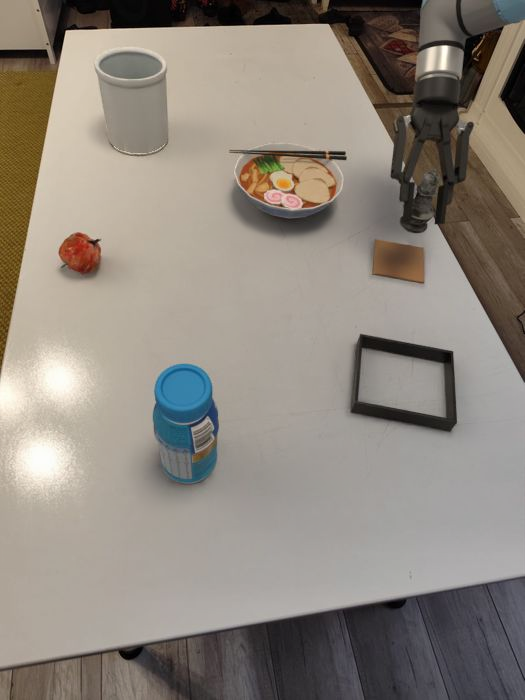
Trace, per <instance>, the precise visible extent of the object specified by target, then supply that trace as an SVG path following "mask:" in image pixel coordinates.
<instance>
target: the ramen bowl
mask: <svg viewBox="0 0 525 700" xmlns="http://www.w3.org/2000/svg"><path fill="white" fill-rule="evenodd" d="M228 153H232V154H242V155H240V156H239V157H238V158H237V161H236V163H235V166H234V168H233V173H234V176H235V179H236V183H237V185H238V187H239V190H240V191H241V192H242V194H243V196H245V198H247V200H248V201H250V202H251V203H252V205H253V206H254V207H256V209H258V210H260V211H261V212H264V213H266V214H268V215H270V216H273V217H278V218H283V219H289V220H290V219H301V218H307V217H308V216H311V215H314V214H316V213H318V212H321V211H322V210H324V209H325V208H327V207H329V205H330V204H331V203H332V202H333V201H334V199H336V197H337V196H338V195H339V194H340V193H341V192H342V191H343V187H344V186H343V185H344V180H345V177H344V175H343V173H342V170H341V168H340V167H339V165H338V163H337V162H336V161H347V159H348V158H347V152H346V151H345V150H344V151H343V150H334V151H333V150H328V151H327V150H318V149H315V148H313V147H310V146H308V145H304V144H299V143H292V142H289V141H288V142H269V143H264V144H261V145H258V146H254V147H251V148H249V149H243V150H242V149H229V152H228ZM334 160H335V161H334Z"/></svg>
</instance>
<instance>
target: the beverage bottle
mask: <svg viewBox="0 0 525 700" xmlns="http://www.w3.org/2000/svg"><path fill="white" fill-rule="evenodd" d="M154 384H155V385H154V389H153V392H154V401H155V404H154V407H153V410H152V423H153V434H154V437H155V439H156V441H157V444H158V449H159V454H160V455H159V456H160V463H161V464H160V465H161V468H162V469H163V472H164V473H165V474H166V475H167V476H168V477H169V478H170V479H171V480H173V481H175V482H177V483H181V484H195V483H198V482H200V481H203V480H204V479H206V478H207V477H208V476H209V475H211V473H212V472H213V471H214V469H215V467H216V464H217V461H218V434H219V430H220V421H219V409H218V406H217V403H216V400H215V399H214V397H213V383H212V380H211V378H210V376H209V375H208V373H207V372H206V371H205V370H204V369H203V368H202V367H199V366H198V365H195V364H191V363H176V364H174V365H171V366H169V367H167V368H165V369H164V370H162V372H161V373H160V374H159V375H158V376H157V379H156V380H155V383H154Z"/></svg>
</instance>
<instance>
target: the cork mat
mask: <svg viewBox="0 0 525 700" xmlns="http://www.w3.org/2000/svg"><path fill="white" fill-rule="evenodd" d="M373 248H374V249H373V263H372V264H373V266H372V275H375V276H380V277H385V278H389V279H396V280H402V281H407V282H412V283H417V284H424V283H425V264H424V263H425V261H424V255H425V254H424V253H425V252H424V247H421V246H417V245H411V244H405V243H400V242H394V241H388V240H383V239H378V238H376V239H374V247H373Z"/></svg>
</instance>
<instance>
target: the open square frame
mask: <svg viewBox="0 0 525 700" xmlns="http://www.w3.org/2000/svg"><path fill="white" fill-rule="evenodd" d="M363 349H369V350H374V351H380V352H386V353H390V354H396V355H399V356H400V355H401V356H406V357H411V358H417V359H421V360H427V361H432V362H439V363H443V364H444V365H443V366H444V367H443V368H444V386H445V390H444V391H445V407H446V408H445V411H446V413H445V414H446V417H443V416H438V415H432V414H428V413H423V412H418V411H414V410H413V411H412V410H407V409H403V408H397V407H393V406H392V407H391V406H387V405H383V404H382V405H381V404H377V403H376V404H375V403H371V402H366V401H360V400H359V396H360V395H359V392H360V381H361V369H362V367H361V366H362V355H363V354H362V353H363ZM454 359H455V357H454V351H453V350H448V349H444V348H440V347H439V348H438V347H433V346H428V345H422V344H417V343H413V342H406V341H401V340H395V339H391V338H385V337H380V336H374V335H368V334H365V333H364V334H363V333H360V334H359V336H358V338H357V341H356V345H355V356H354V367H353V380H352V391H351V403H350V413H352V414H357V415H362V416H369V417H372V418H378V419H384V420H388V421H392V422H393V421H394V422H399V423H404V424H409V425H414V426H419V427H425V428H430V429H435V430H440V431H445V432H451V431H452V430H453V429H454V428H455V426H456V425H457V424H458V413H457V412H458V411H457V393H456V391H457V390H456V376H455V375H456V374H455V360H454Z"/></svg>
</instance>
